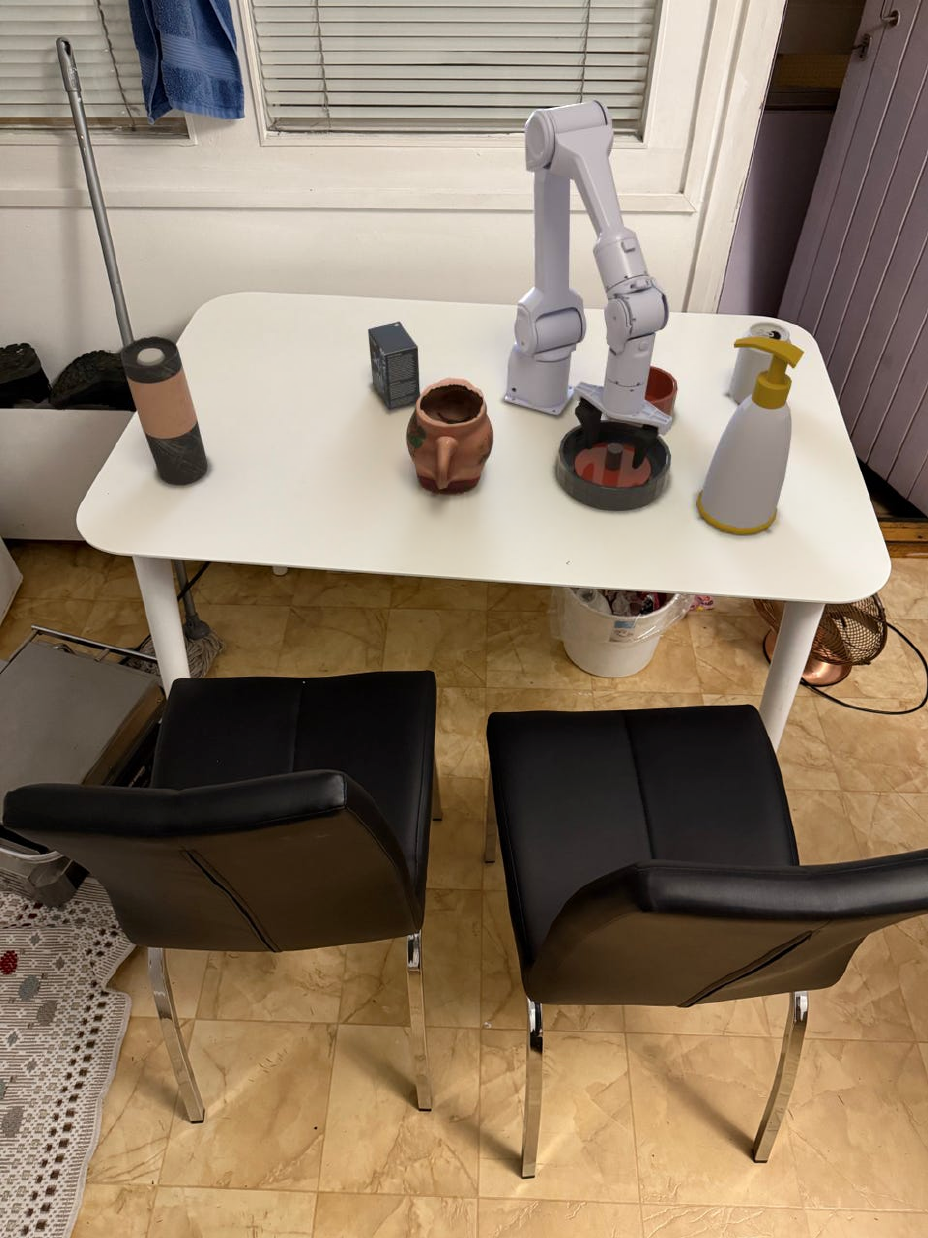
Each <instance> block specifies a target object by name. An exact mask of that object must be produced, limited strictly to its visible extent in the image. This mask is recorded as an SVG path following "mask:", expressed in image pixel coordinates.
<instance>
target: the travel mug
mask: <svg viewBox="0 0 928 1238" xmlns="http://www.w3.org/2000/svg"><path fill="white" fill-rule="evenodd" d="M120 360H121V364H122V367H123V370H124V373H125V376H126V380H127V382H128V387H129V389H130V392H131V396H132V399H133V402H134V405H135V406H134V407H135V409H136V412H137V415H138V418H139V421H140V425H141V429H142V431H143V434H144V437H145V439H146V442H147V445H148V447H149V450H150V453H151V456H152V458H153V462H154V464H155V467H156V469H157V472H158V475H159V477H160V479H161V480H162V481H163V482H165V483H167V484H169V485H172V486H184V485H186V486H187V485H190V484H192V483H195V482H197V481H199V480H200V479H202V478H203V477H204V476H205V475H206V473H207V472H208V460H207V456H206V450H205V447H204V442H203V438H202V434H201V430H200V424H199V421H198V420H199V419H198V415H197V413H196V408H195V404H194V401H193V398H192V394H191V391H190V387H189V384H188V380H187V376H186V373H185V368H184V365H183V362H182V358H181V355H180V351H179V348H178V345H177V344H176V343H175V342H174V341H172V340H171V339H169V338H165V337H159V336H153V337H144V338H140V339H137V340H134V341H133V342H131V343H129V344H127V345H126V346H125V347H124V348H123V349H122V350H121V352H120Z"/></svg>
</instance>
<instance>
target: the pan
mask: <svg viewBox="0 0 928 1238" xmlns="http://www.w3.org/2000/svg"><path fill="white" fill-rule="evenodd" d="M641 427H642V426H641V425H639V424H635V423H632V422H628V421H622V420H612V419H601V422H600V429H599V437H598V441H597V443H596V444H599V443H619V444H624V445H627V446H630V447H632V448H634V449H635V440H634V434H635V433H636V432H637V431H638V430H639V429H640V428H641ZM585 448H586V442H585V437H584V433H583V429H582V426H581V424H579V425H576V426H574V427H573V428H572V429H570V430H569V431H568V432H566V433H565V434H564V436H563V437H562V439H561V440H560V441H559V446H558V451H557V459H556V460H557V462H556V477H557V481H558V483H559V485H560V487H561V488H562V489H563V490H564V491H565V493H566V494H567V495H569V496H570V497H571V498H572V499H574V500H576V501H577V502H579V503H581V504H583V505H586V506H588V507H591V508H594V509H598V510H602V511H610V512H611V511H612V512H620V511H621V512H623V511H624V512H625V511H631V510H636V509H641V508H643V507H645V506H647V505H650V504H651V503H653V502H654V501H656V500H657V499H658V498H659V497H660V496H661V495H662V494H663V492H664V491H665V489H666V486H667V483H668V478H669V474H670V469H671V463H672V453H671V451H670V448H669V446H668V444H667V443H666V442H665V441H664V439H663V438H662V437H661V436H660V435H658V436H657V438H656V439H655V440H654V442H653V443H652V445H651V446H650V448H649V450H648V452H647V454H646V456H645V457H646V458H647V459H648V461H649V463H650V466H651V473H650V477H649V479H648V481H647V482H646V483H644V484H640V485H635V486H631V487H613V486H605V485H600V484H597V483H594V482H590V481H588V480H586V479H584V478H583V477H581V476H579V475H577V474H576V473H575V469H574V463H575V459H576V457H577V455H578V454H579V453H580V452H581V451H582V450H583V449H585Z"/></svg>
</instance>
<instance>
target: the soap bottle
mask: <svg viewBox="0 0 928 1238" xmlns="http://www.w3.org/2000/svg"><path fill="white" fill-rule="evenodd" d="M741 347H747V348H755V349H759V350H762V351H764V352H767V353H770V354H773V357H772V361H771V364H770V368H769V370H766V371H763V372H761V373H759V374H758V376H757V379H756V383H755V387H754V390H753V393H752V394H751V395H750V396H748V397H747V398H746V399H745V400H743V402H742V403H741V404H739V406H738V407H737V408H736V409H735V411H734V412H733V414H732V415H731V417H730V418H729V420H728V422H727V424H726V426H725V429H724V431H723V432H722V435H721V437H720V439H719V441H718V443H717V446H716V448H715V450H714V453H713V456H712V458H711V461H710V464H709V466H708V469H707V473H706V475H705V480H704V484H703V487H702V490H700V491H699V492H698V496H697V500H696V505H697V508H698V511H699V514H700V516H701V517H702V518H703V519H704V520H705V521H706V522H707V523H708V525H710V526H713V527H714V528H716V529H717V530H720V531H722V532H725V533H731V534H735V535H755V534H757V533H760V532H763V531H765V530H767V529H768V528H769V527H770V526H771V525H772V524H773V523H774V522H775V521H776V519H777V513H778V505H779V502H780V497H781V494H782V491H783V490H782V489H783V486H784V481H785V477H786V472H787V466H788V459H789V456H790V455H789V454H790V449H791V441H792V432H793V431H792V427H793V426H792V414H791V408H790V405H789V404H788V402H787V399H788V396H789V393H790V390H791V387H792V384H793V380H792V379H791V377H790V376H789V375H788V374H786V371H787V368H788V365H789V366H790V367H791V368H792V369H793V370H794V369H795V368H796V367H797V365H798V363H799V362H800V360H801V359H802V357H803V355H804V354H805V351H804V350H802V348H801V349H800V347H798V346H796V345H794V344H792V343H791V344H790V343H787V342H785V341H781V340H777V339H772V338H766V337H760V336H758V337H746V338H742V337H741V338H737V339H735V341H734V342H733V348H734V349H739V348H741Z"/></svg>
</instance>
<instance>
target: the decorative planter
mask: <svg viewBox="0 0 928 1238" xmlns="http://www.w3.org/2000/svg"><path fill="white" fill-rule="evenodd" d="M405 441H406V448H407V452H408V455H409V456H410V459H411V461H412V463H413V465H414V470H415V475H416V478H417V481H418V483H419V485H420V486H421V488H423V490H425V491H427V492H430V493H432V494H437V495H443V496H448V495H449V496H451V495H461V494H464V493H465V494H466V493H468V492H470V491H472V490H473V489H474V488H476V486H477V485H478V483H479V482H480V479H481V478H482V477H481V476H482V472H483V470H484V468H485V465H486V463H487V462H488V460H489V458H490V456H491V454H492V450H493V445H494V430H493V423H492V421H491V419H490V417H489V415H488V405H487V402H486V399H485V397H484V393H483V391H482V389H480V388H478V387H476V386H474V385H473V384H472V383H471V382H470V381H468V380H467V379H464V378H457V377H456V378H455V377H447V378H443V379H441V380H439V381H437V382H435V383H432V384H429V385H427V386H426V387H425V389H424V390H423V392H421V393H420V397H419V398H418V400H417V402H416V404H414V409H413V411H412V414H411V416H410V418H409V421H408V422H407V427H406V433H405Z"/></svg>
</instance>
